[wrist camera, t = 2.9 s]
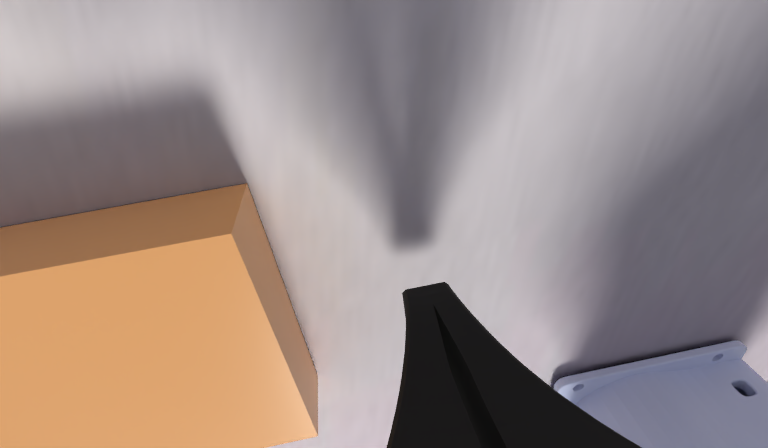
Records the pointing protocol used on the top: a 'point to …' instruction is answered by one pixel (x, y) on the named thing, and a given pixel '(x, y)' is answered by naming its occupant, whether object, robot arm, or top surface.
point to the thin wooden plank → (151, 330)
